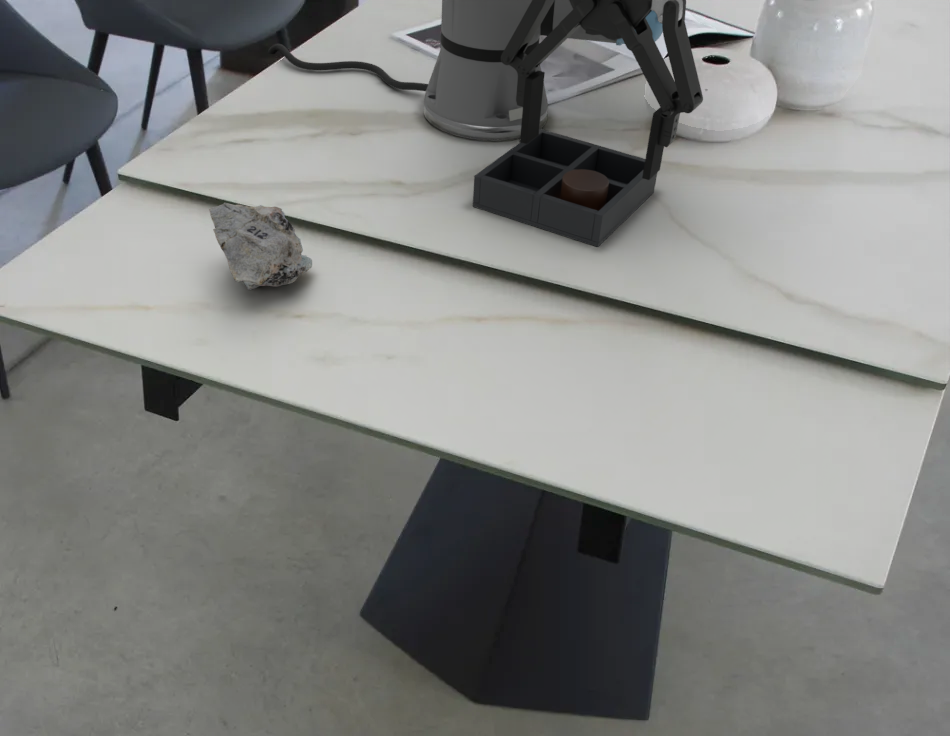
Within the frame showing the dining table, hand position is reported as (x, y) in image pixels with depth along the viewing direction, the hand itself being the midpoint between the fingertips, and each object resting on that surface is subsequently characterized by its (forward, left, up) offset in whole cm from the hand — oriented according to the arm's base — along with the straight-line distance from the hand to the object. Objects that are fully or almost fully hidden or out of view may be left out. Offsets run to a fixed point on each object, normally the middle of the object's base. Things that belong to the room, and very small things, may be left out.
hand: (588, 156), depth 104 cm
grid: (-4, +4, -7) cm, 9 cm away
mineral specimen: (-20, -28, -7) cm, 35 cm away
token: (0, 0, -7) cm, 7 cm away
